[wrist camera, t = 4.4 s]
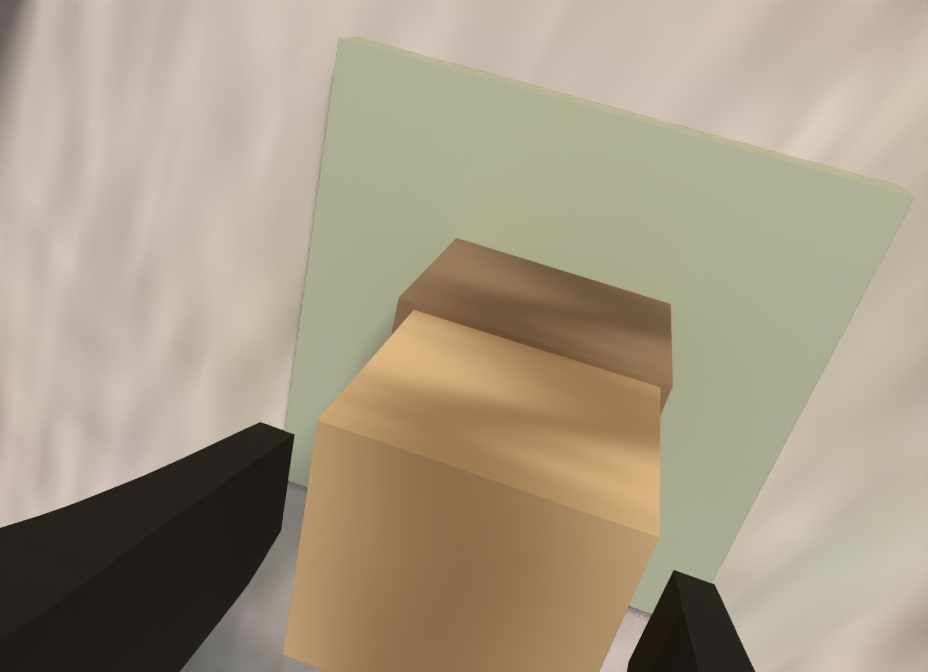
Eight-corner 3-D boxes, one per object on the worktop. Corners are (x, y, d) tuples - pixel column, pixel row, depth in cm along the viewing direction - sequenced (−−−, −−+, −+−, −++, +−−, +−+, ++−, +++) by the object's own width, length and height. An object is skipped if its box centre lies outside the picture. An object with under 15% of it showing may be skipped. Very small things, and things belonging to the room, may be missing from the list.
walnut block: (670, 303, 16) (672, 386, 12) (600, 481, 18) (584, 594, 14) (456, 238, 16) (398, 297, 13) (414, 416, 18) (355, 509, 15)
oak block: (660, 387, 12) (659, 537, 9) (584, 577, 14) (558, 763, 11) (413, 309, 13) (317, 420, 9) (374, 503, 15) (282, 654, 11)
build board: (900, 186, 14) (915, 197, 14) (687, 600, 20) (687, 627, 19) (356, 36, 16) (338, 37, 15) (294, 458, 21) (278, 477, 20)
